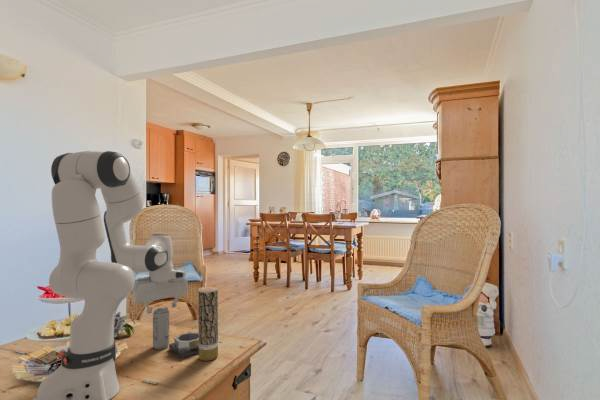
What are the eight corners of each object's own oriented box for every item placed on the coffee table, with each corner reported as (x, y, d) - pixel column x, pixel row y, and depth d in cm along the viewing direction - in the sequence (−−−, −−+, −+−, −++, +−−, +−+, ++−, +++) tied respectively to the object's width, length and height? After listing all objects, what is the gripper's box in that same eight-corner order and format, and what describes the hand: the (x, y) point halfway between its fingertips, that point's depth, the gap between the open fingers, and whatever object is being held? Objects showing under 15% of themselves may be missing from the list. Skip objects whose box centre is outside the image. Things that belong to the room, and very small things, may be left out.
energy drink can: (169, 348, 132) (169, 309, 133) (152, 351, 130) (152, 311, 130) (169, 342, 138) (169, 305, 138) (153, 345, 136) (153, 307, 136)
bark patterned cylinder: (212, 362, 121) (212, 291, 121) (195, 360, 122) (195, 290, 122) (221, 354, 127) (220, 286, 128) (204, 352, 129) (204, 286, 129)
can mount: (180, 359, 123) (180, 345, 123) (169, 349, 132) (169, 336, 132) (208, 350, 131) (208, 337, 131) (196, 341, 139) (196, 329, 139)
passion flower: (110, 352, 142) (91, 330, 140) (124, 337, 153) (106, 317, 151) (130, 338, 140) (111, 316, 139) (143, 324, 151) (125, 303, 150)
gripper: (135, 280, 125) (136, 318, 126) (189, 272, 139) (189, 306, 139) (130, 277, 130) (131, 314, 130) (183, 269, 144) (183, 302, 144)
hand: (161, 309), depth 135 cm, fingers open, 8 cm apart
